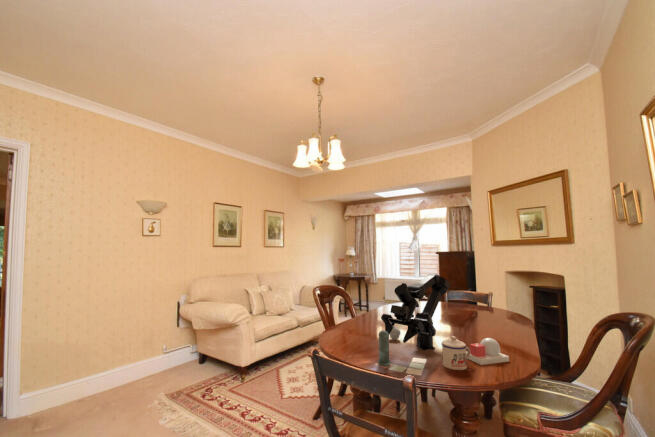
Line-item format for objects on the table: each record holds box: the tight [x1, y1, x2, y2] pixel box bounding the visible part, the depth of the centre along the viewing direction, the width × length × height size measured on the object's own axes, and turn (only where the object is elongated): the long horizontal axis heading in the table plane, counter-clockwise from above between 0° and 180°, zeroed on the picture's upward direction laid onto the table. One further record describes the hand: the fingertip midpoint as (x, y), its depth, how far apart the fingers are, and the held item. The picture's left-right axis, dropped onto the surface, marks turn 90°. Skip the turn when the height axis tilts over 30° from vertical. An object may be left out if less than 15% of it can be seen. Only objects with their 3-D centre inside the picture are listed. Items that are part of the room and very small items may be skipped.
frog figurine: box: [389, 325, 401, 341], centre depth 155 cm, size 6×7×7 cm
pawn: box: [377, 329, 391, 368], centre depth 120 cm, size 5×5×13 cm
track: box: [374, 357, 428, 377], centre depth 117 cm, size 23×17×1 cm
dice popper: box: [466, 337, 510, 366], centre depth 127 cm, size 14×10×8 cm
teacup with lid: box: [441, 335, 470, 371], centre depth 119 cm, size 12×9×12 cm
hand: (394, 340), depth 126 cm, fingers open, 9 cm apart
